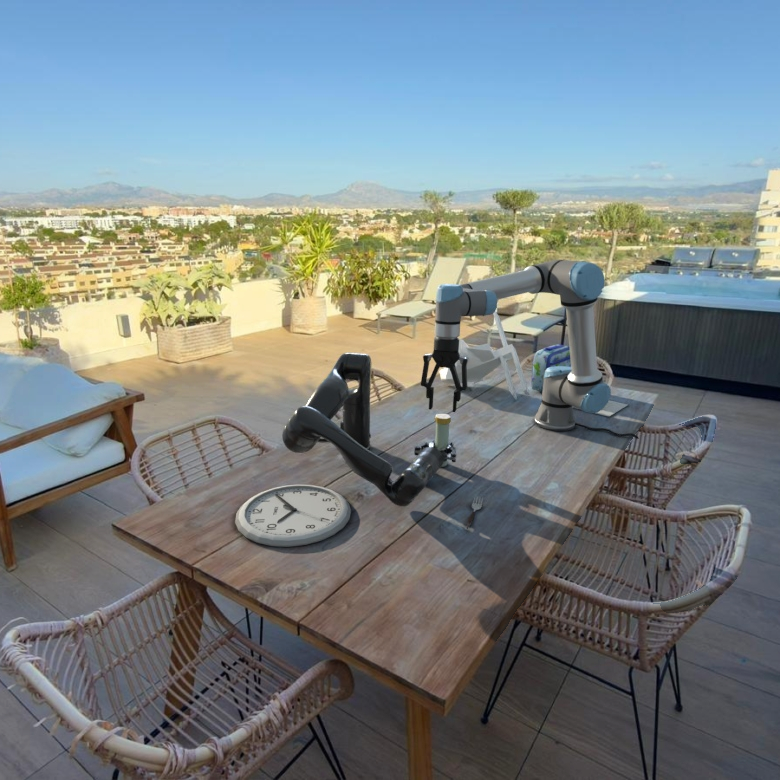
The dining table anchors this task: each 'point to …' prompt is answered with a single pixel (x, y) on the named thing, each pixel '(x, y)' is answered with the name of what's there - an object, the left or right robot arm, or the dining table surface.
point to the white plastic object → (486, 362)
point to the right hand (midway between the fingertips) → (442, 409)
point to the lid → (443, 419)
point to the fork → (475, 507)
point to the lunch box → (548, 363)
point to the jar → (442, 437)
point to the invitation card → (611, 408)
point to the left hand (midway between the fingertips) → (444, 443)
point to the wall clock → (293, 515)
